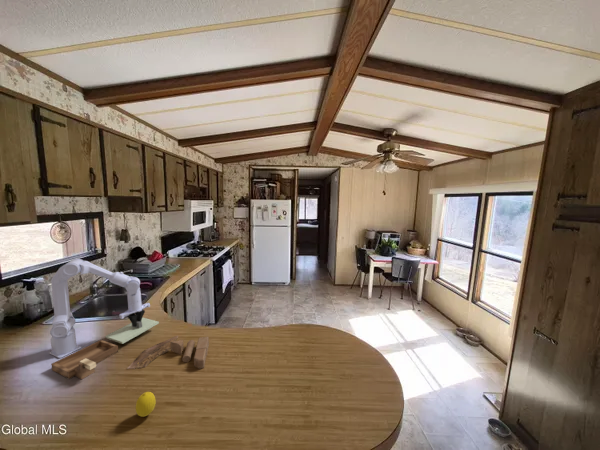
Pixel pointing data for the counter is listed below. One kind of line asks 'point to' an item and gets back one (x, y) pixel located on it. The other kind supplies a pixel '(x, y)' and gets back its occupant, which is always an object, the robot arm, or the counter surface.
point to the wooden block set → (200, 350)
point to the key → (88, 364)
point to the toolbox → (93, 352)
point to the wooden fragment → (152, 353)
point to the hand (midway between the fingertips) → (136, 325)
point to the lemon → (145, 404)
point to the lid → (131, 330)
